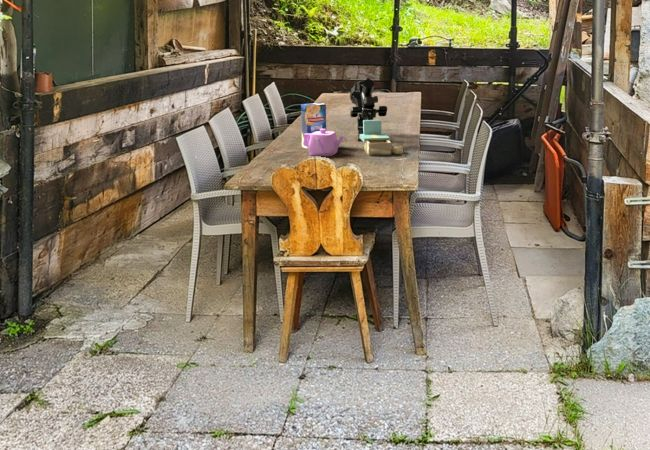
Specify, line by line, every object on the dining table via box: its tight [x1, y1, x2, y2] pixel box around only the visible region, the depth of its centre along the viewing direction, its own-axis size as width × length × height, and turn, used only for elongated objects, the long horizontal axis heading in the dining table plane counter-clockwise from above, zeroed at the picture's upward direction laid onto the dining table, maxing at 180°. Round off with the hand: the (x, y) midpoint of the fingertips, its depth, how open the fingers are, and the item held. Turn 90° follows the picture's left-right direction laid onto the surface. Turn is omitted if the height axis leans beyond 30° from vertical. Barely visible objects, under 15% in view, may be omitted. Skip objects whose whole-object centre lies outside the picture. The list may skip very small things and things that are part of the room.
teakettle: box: [303, 128, 346, 157], centre depth 417 cm, size 17×17×12 cm
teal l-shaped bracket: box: [360, 119, 391, 143], centre depth 424 cm, size 14×13×9 cm
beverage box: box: [300, 102, 327, 149], centre depth 436 cm, size 7×11×22 cm, turn 118°
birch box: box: [363, 139, 392, 157], centre depth 417 cm, size 14×11×6 cm
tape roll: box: [392, 145, 404, 155], centre depth 417 cm, size 5×5×3 cm
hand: (370, 124), depth 435 cm, fingers closed
